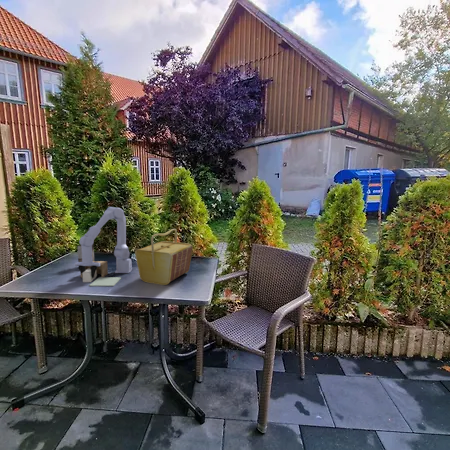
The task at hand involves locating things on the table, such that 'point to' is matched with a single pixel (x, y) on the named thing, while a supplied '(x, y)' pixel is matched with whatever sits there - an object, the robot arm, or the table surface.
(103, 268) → the wooden box
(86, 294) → the table surface
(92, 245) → the coffee box
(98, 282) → the pale green panel
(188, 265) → the picnic basket
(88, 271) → the cream block
